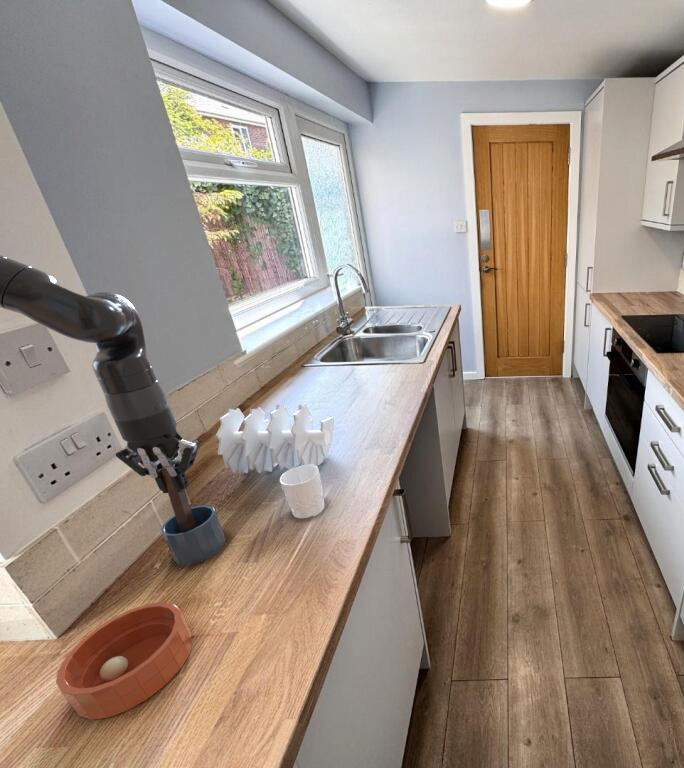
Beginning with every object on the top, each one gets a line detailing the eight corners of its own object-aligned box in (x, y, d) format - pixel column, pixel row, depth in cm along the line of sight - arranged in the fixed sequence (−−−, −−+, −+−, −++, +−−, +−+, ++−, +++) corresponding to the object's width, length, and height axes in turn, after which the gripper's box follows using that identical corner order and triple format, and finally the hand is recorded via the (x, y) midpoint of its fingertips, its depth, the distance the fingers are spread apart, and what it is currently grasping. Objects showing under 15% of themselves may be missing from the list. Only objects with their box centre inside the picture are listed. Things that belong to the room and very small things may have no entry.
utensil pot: (165, 569, 79) (149, 537, 76) (192, 536, 87) (180, 507, 84) (211, 565, 80) (198, 533, 77) (234, 533, 88) (223, 503, 85)
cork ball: (98, 663, 60) (106, 655, 59) (124, 658, 62) (133, 650, 61) (94, 686, 58) (102, 678, 57) (121, 680, 60) (130, 673, 59)
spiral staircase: (328, 484, 110) (231, 486, 108) (342, 430, 121) (255, 432, 119) (306, 447, 96) (195, 449, 94) (325, 391, 108) (226, 392, 106)
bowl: (47, 728, 54) (25, 700, 52) (125, 632, 67) (110, 607, 65) (154, 714, 56) (137, 687, 53) (212, 623, 68) (200, 598, 66)
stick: (183, 541, 80) (160, 469, 75) (189, 535, 81) (167, 464, 77) (193, 540, 80) (170, 468, 75) (198, 535, 82) (177, 463, 77)
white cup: (327, 516, 92) (317, 479, 88) (288, 525, 89) (277, 488, 85) (327, 495, 99) (319, 461, 95) (292, 504, 96) (281, 469, 92)
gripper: (196, 397, 75) (224, 475, 82) (116, 402, 74) (151, 481, 80) (168, 416, 68) (202, 499, 75) (80, 422, 67) (122, 506, 73)
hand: (175, 489), depth 77 cm, fingers closed on stick, 2 cm apart
